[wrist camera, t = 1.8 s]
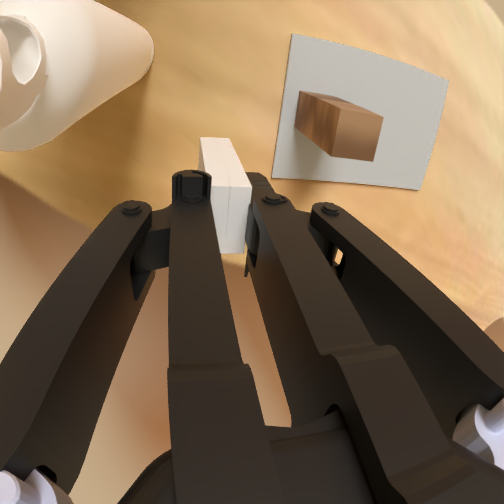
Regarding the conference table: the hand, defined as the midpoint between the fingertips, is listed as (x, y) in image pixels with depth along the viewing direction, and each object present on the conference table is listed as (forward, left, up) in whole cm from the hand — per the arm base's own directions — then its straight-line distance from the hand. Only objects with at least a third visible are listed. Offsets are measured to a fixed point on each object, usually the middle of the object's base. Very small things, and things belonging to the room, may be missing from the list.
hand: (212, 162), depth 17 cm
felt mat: (0, +21, -20) cm, 29 cm away
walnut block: (0, +13, -20) cm, 24 cm away
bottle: (-6, -9, -21) cm, 23 cm away
